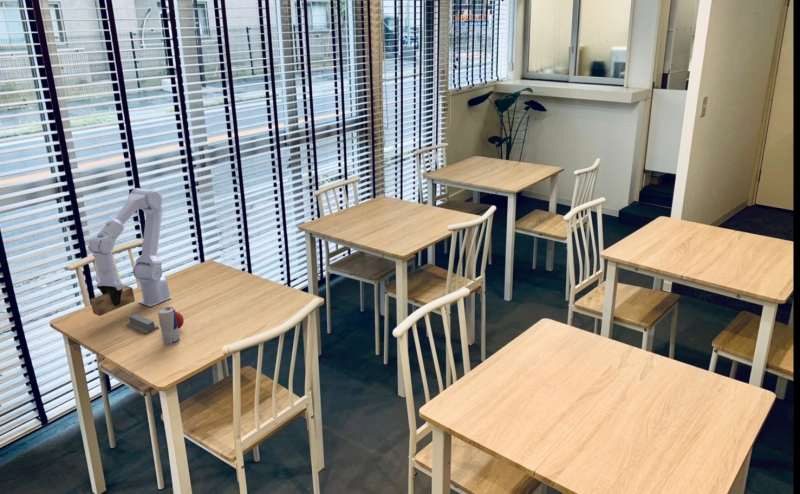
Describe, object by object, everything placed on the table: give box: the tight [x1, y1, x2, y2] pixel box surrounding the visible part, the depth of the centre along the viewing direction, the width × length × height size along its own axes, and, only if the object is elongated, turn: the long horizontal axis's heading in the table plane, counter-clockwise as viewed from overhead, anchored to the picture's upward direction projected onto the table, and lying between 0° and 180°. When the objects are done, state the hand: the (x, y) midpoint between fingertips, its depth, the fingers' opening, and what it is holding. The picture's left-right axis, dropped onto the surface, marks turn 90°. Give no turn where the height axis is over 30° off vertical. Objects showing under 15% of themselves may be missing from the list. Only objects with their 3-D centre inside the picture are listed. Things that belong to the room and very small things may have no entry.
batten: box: [89, 285, 136, 317], centre depth 229 cm, size 14×4×6 cm, turn 144°
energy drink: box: [157, 306, 181, 346], centre depth 212 cm, size 5×5×12 cm
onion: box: [175, 311, 185, 330], centre depth 221 cm, size 6×6×8 cm
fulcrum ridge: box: [126, 313, 159, 335], centre depth 225 cm, size 5×12×3 cm, turn 54°
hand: (113, 303), depth 229 cm, fingers closed on batten, 4 cm apart
